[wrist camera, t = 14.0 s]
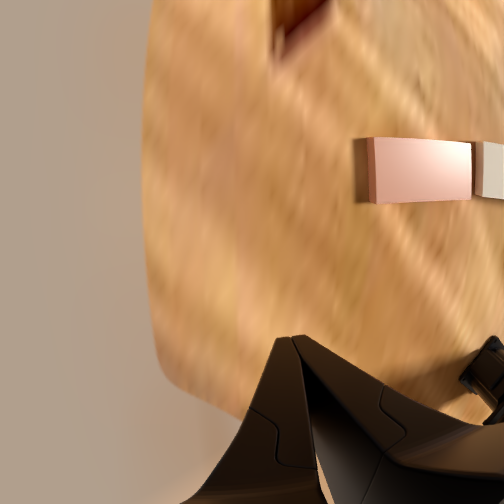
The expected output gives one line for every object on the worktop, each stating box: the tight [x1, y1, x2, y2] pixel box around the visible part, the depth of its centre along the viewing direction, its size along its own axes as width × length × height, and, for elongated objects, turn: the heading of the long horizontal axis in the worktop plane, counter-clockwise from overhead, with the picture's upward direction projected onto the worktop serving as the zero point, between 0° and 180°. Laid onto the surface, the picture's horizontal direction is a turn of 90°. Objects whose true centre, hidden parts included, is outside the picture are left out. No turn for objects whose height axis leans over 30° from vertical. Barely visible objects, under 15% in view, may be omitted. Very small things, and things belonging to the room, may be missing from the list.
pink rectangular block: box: [367, 137, 472, 204], centre depth 20 cm, size 2×4×9 cm
